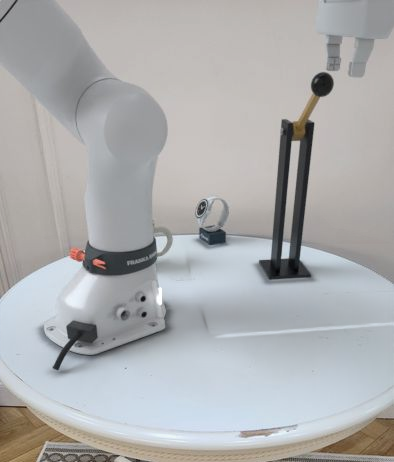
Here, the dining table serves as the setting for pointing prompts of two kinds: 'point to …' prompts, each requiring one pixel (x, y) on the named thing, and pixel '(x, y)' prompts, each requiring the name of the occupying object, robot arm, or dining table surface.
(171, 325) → the dining table surface
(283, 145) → the stand
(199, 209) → the watch
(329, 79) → the lever
